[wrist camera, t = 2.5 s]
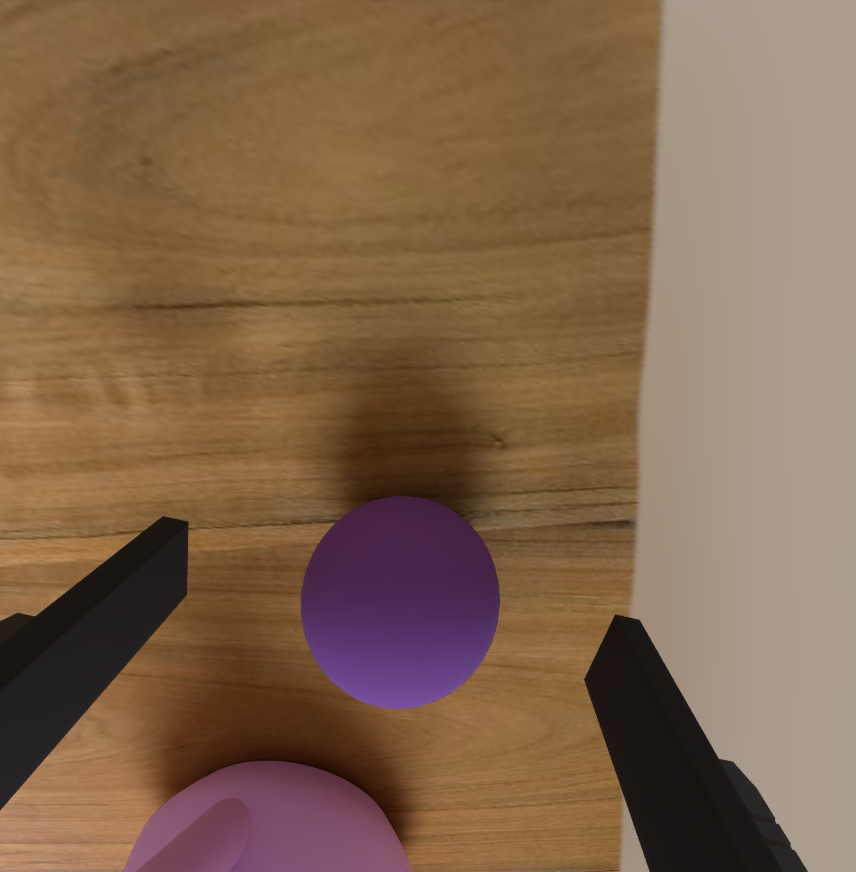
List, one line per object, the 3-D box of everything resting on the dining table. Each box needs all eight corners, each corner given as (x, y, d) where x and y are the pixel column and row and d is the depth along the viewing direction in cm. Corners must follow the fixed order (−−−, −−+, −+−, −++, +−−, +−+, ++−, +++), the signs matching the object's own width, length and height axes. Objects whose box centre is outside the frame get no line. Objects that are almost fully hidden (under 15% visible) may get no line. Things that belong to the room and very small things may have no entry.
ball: (404, 432, 14) (371, 528, 9) (524, 537, 15) (565, 683, 10) (302, 538, 16) (219, 676, 10) (417, 625, 17) (399, 792, 11)
